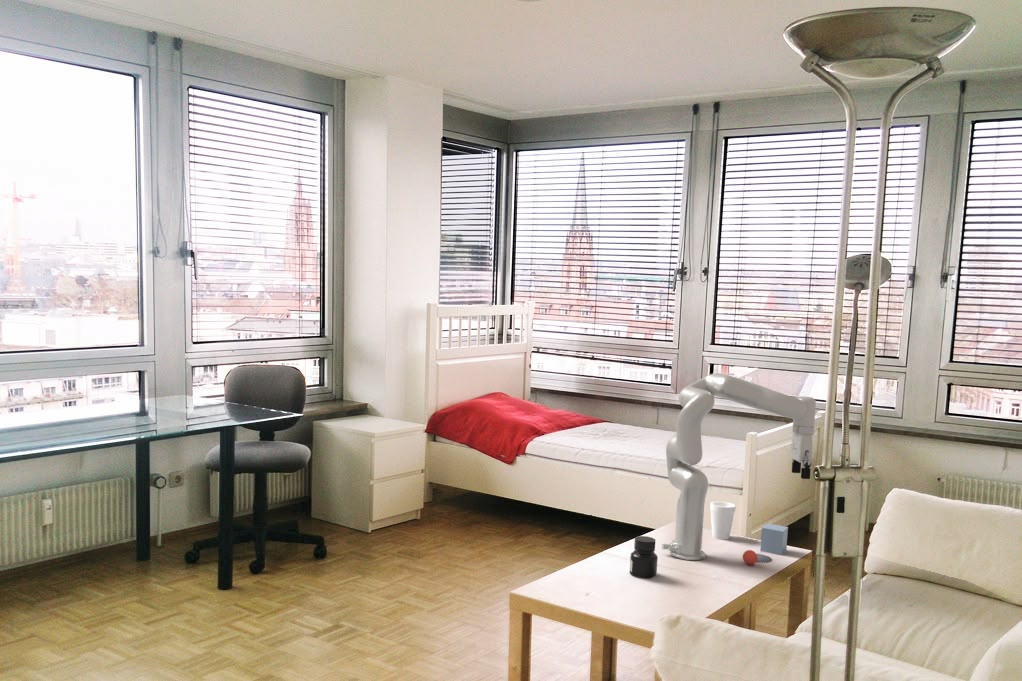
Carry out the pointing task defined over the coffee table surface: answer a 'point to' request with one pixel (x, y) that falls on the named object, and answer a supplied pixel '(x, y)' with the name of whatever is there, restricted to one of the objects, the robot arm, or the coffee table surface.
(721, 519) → the foam cup
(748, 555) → the ball
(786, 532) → the blue box
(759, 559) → the disc
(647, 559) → the ink bottle
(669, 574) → the coffee table surface
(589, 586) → the coffee table surface
